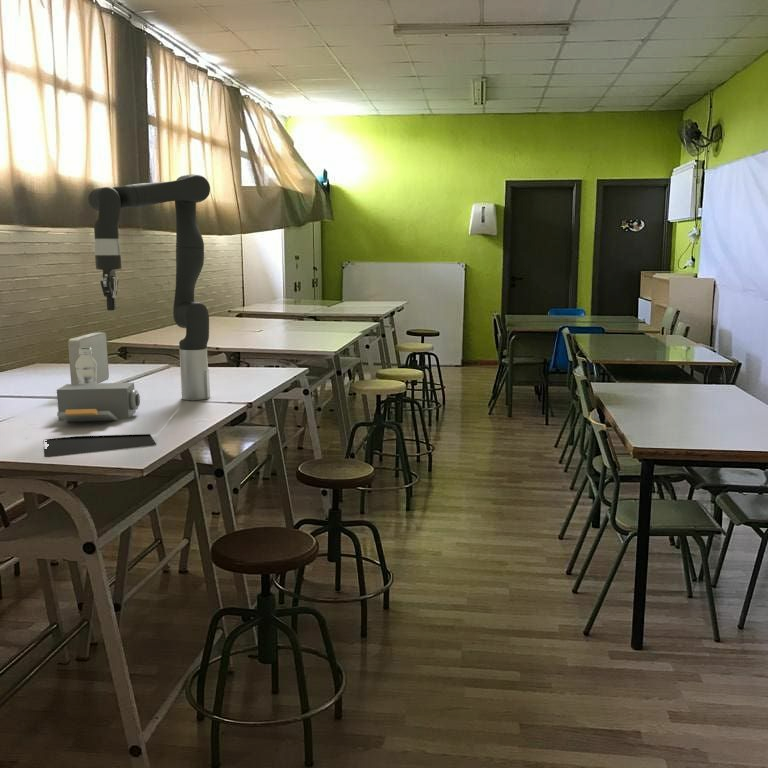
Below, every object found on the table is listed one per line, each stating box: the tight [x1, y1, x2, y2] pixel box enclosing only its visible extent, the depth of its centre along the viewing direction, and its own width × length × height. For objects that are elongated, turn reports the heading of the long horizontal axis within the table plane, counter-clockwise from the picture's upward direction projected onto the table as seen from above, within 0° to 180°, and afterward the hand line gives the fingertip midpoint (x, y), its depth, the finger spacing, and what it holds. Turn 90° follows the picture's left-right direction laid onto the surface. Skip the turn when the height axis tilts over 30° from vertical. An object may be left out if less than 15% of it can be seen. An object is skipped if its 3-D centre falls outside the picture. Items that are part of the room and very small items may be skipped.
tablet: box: [43, 433, 157, 458], centre depth 200 cm, size 27×1×20 cm
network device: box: [67, 332, 110, 384], centre depth 277 cm, size 26×9×20 cm, turn 179°
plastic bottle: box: [75, 348, 97, 384], centre depth 239 cm, size 6×7×20 cm
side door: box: [56, 409, 119, 423], centre depth 217 cm, size 14×1×13 cm
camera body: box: [56, 382, 141, 422], centre depth 228 cm, size 22×10×10 cm, turn 96°
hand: (111, 310), depth 236 cm, fingers closed
